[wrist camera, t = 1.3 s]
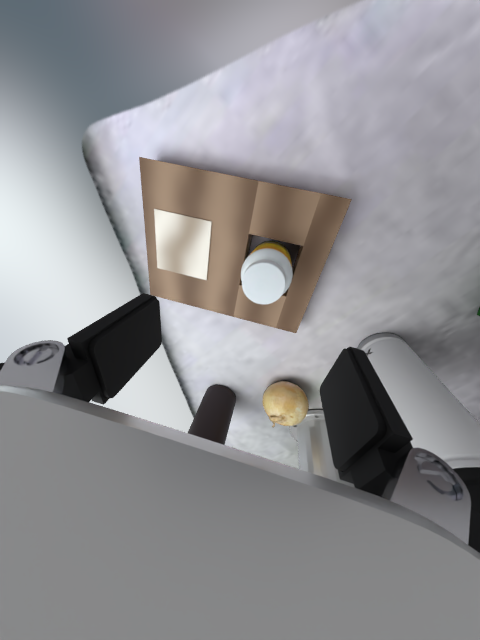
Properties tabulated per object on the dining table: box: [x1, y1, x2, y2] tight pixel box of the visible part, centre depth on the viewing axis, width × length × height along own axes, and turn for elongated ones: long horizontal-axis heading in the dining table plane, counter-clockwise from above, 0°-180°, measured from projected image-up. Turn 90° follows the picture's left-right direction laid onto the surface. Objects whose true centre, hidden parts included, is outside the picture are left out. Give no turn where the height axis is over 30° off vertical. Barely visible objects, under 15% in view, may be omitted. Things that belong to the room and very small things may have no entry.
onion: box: [263, 381, 309, 427], centre depth 34 cm, size 8×8×7 cm
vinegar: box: [188, 385, 236, 445], centre depth 33 cm, size 7×7×20 cm
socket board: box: [139, 157, 352, 333], centre depth 24 cm, size 22×16×3 cm
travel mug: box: [357, 333, 480, 514], centre depth 20 cm, size 6×7×20 cm
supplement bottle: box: [241, 241, 293, 304], centre depth 21 cm, size 5×5×10 cm
